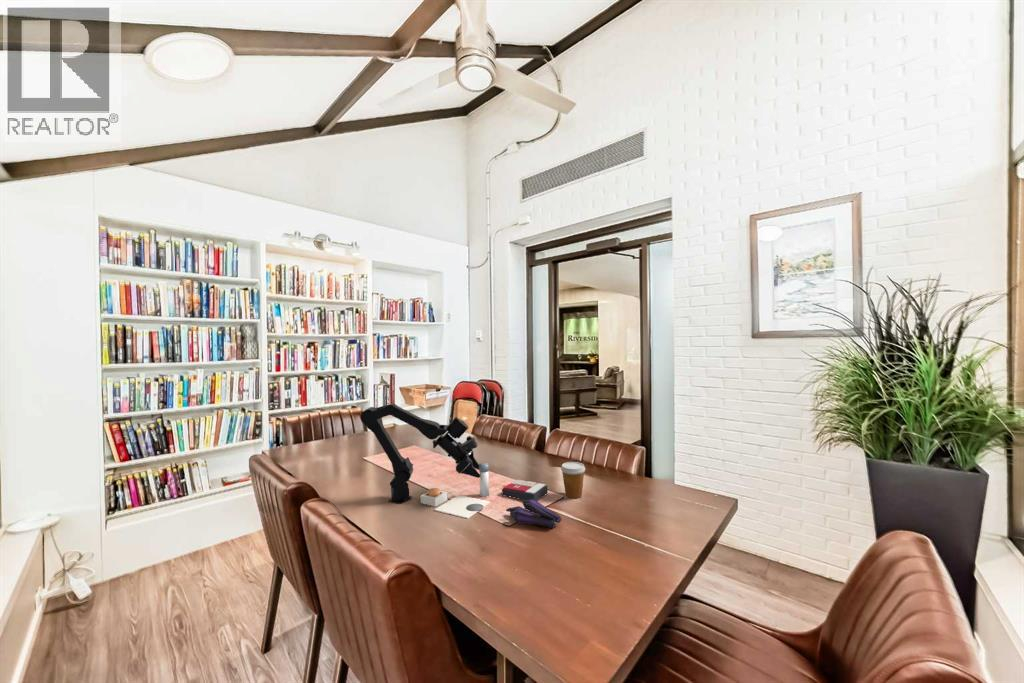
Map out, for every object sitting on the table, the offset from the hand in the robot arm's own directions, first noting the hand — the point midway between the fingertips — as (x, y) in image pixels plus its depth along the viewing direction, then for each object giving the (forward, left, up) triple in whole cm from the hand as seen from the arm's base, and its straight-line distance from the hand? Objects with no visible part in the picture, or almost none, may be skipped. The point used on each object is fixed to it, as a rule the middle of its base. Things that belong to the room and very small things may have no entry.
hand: (480, 472), depth 162 cm
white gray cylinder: (+1, +1, -9) cm, 9 cm away
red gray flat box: (+15, +9, -10) cm, 20 cm away
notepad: (0, -12, -9) cm, 15 cm away
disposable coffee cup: (+33, +16, -9) cm, 38 cm away
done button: (-13, -13, -7) cm, 20 cm away
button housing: (-13, -13, -9) cm, 20 cm away
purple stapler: (+28, -11, -9) cm, 32 cm away
